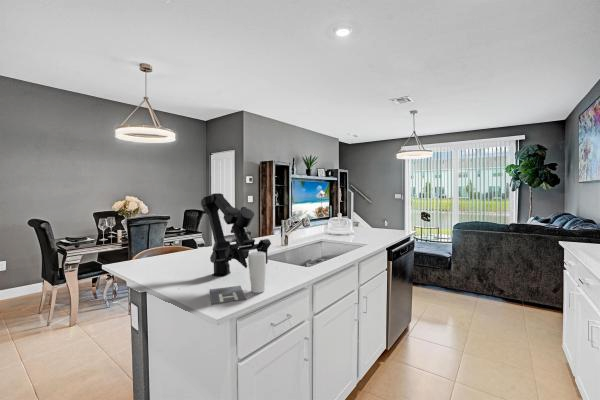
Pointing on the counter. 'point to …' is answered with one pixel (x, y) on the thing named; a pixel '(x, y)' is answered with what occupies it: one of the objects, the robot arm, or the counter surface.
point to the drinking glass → (257, 271)
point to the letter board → (227, 294)
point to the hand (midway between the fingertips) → (256, 265)
